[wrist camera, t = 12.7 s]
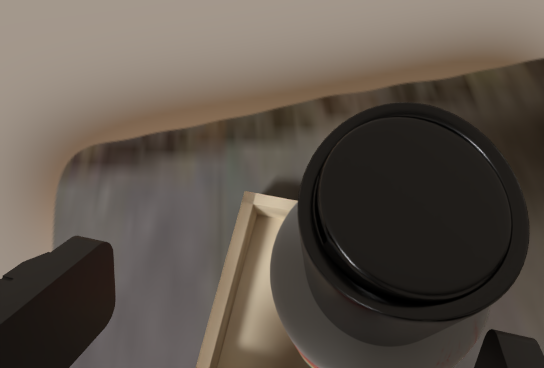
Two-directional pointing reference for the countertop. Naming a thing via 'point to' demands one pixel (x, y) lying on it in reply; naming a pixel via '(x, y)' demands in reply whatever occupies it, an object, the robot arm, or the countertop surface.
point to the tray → (250, 295)
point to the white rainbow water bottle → (398, 241)
